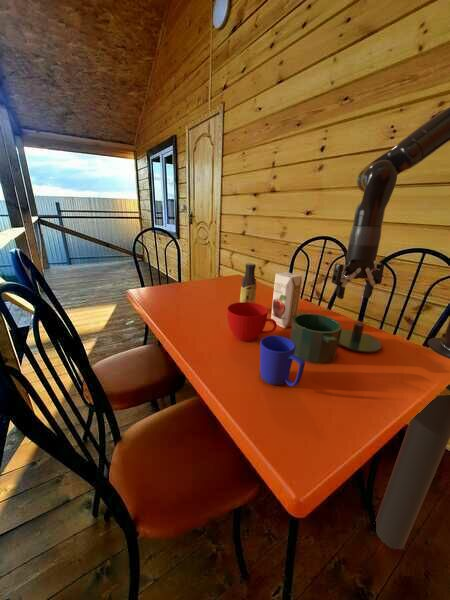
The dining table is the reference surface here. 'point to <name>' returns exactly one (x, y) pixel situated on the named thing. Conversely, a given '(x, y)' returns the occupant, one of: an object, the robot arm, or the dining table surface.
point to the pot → (315, 337)
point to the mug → (278, 360)
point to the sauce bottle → (248, 284)
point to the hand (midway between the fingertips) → (353, 297)
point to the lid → (359, 340)
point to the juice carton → (286, 298)
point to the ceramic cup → (248, 320)
